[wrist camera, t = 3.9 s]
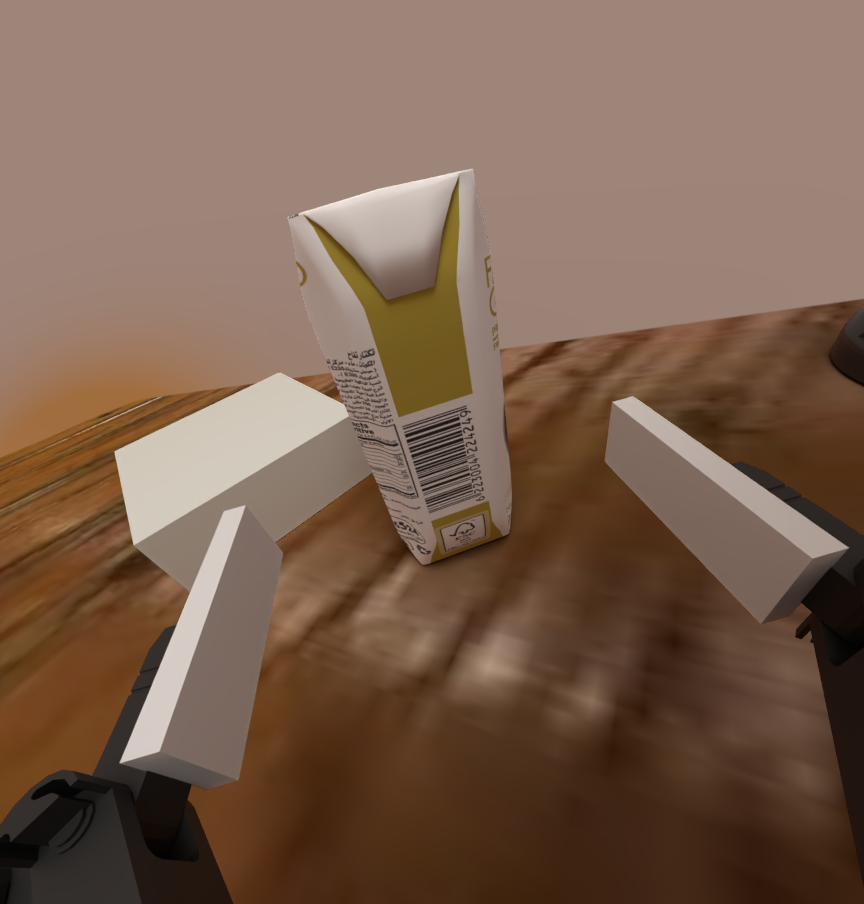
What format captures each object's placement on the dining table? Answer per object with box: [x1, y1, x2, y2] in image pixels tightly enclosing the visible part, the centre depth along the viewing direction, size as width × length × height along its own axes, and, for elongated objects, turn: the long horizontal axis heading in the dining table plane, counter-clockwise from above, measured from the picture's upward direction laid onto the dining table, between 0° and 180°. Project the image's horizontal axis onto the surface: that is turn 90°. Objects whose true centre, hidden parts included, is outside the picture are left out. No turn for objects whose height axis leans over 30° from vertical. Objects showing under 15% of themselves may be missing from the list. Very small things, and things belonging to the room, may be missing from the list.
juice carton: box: [288, 169, 512, 565], centre depth 19 cm, size 8×9×19 cm
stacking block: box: [114, 373, 373, 592], centre depth 31 cm, size 16×16×6 cm
